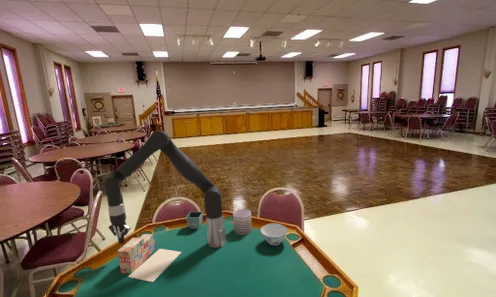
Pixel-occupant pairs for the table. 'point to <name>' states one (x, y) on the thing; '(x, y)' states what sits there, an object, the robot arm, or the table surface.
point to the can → (242, 221)
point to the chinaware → (274, 233)
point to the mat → (155, 265)
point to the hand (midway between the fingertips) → (121, 242)
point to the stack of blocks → (135, 252)
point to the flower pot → (194, 219)
